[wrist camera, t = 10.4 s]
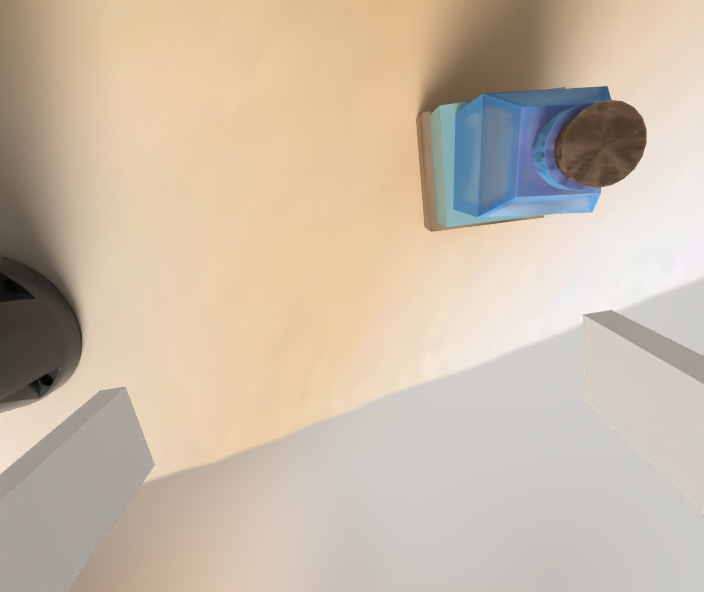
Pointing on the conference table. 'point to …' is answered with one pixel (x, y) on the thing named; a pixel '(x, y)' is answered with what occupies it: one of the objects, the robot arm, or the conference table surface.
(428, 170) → the walnut slab
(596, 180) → the perfume bottle
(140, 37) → the conference table surface
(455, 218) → the teal slab
